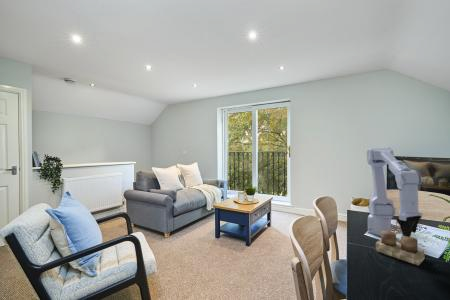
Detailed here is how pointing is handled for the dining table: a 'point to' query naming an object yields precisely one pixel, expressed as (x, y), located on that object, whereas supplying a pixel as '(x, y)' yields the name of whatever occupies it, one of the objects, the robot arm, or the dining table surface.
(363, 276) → the dining table surface
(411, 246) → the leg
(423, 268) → the dining table surface
